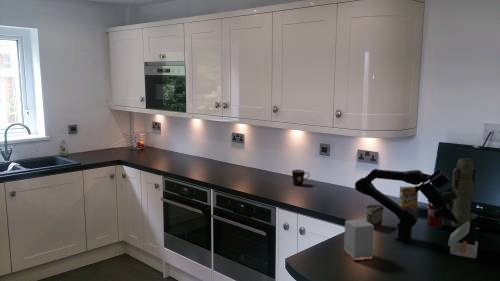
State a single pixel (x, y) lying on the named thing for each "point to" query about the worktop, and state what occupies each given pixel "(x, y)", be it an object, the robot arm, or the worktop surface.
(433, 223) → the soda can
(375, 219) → the food container
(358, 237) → the supplement box
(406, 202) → the candy box
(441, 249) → the worktop surface
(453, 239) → the cover
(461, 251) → the beige tray
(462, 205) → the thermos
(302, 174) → the coffee mug
